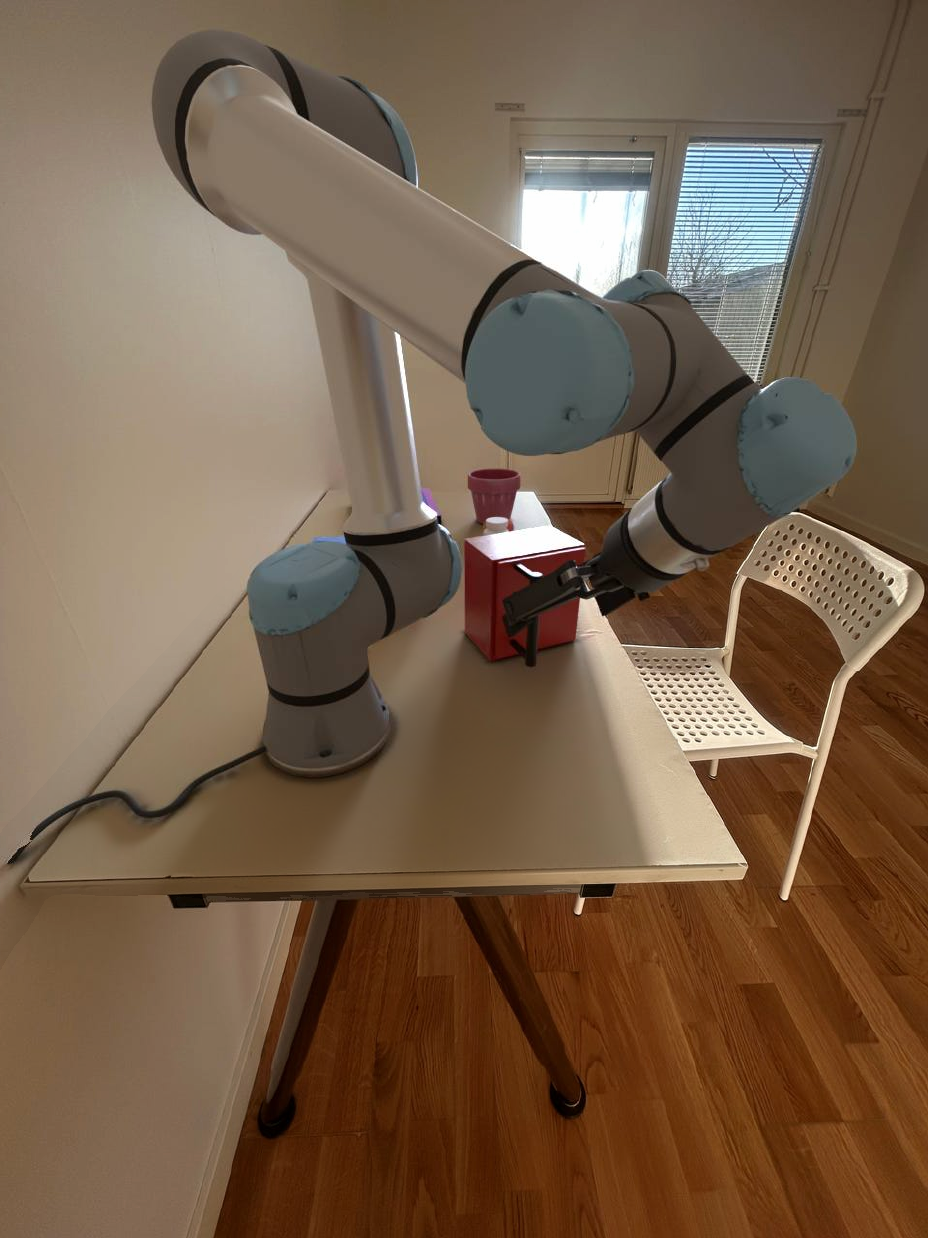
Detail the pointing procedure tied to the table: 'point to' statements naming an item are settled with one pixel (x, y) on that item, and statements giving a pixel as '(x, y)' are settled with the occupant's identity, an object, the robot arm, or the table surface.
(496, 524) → the pill bottle
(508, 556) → the cabinet
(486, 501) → the flower pot
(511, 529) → the apple
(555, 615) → the red cabinet door
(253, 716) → the table surface
